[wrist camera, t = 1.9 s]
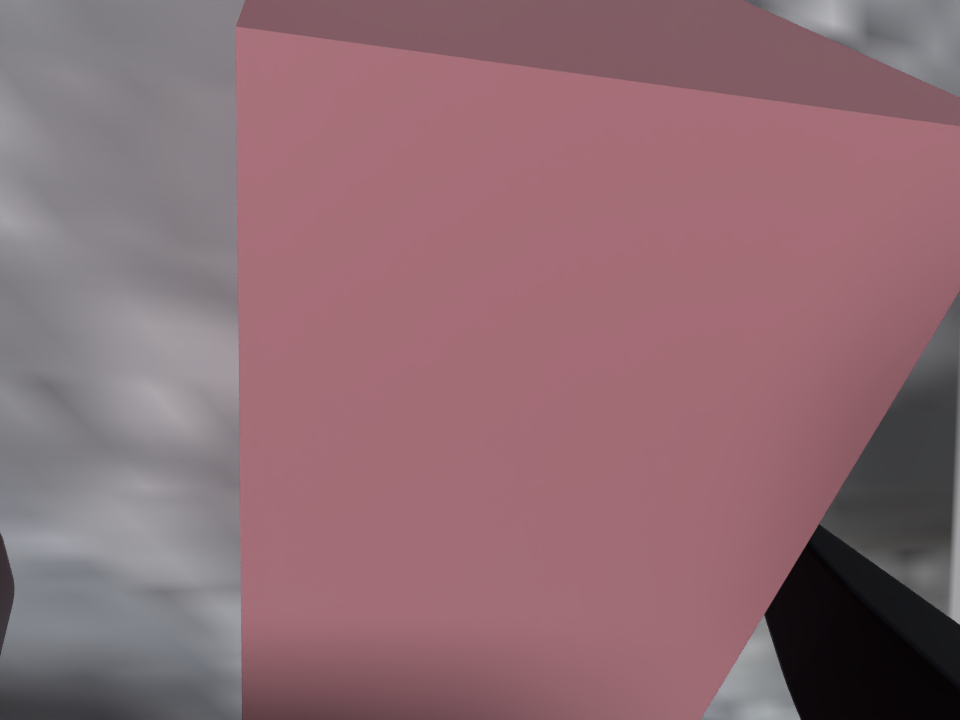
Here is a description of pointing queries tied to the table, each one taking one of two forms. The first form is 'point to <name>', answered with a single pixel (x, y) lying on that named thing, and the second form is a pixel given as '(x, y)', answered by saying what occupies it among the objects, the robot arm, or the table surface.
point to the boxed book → (559, 340)
